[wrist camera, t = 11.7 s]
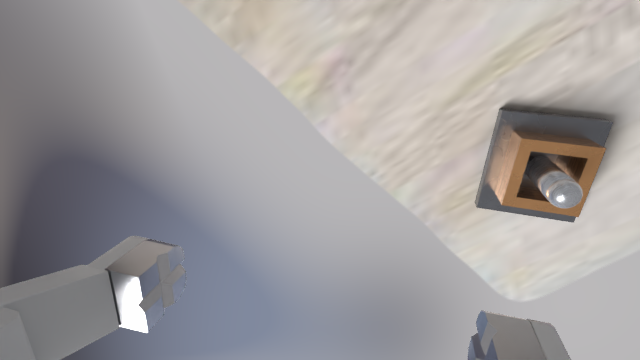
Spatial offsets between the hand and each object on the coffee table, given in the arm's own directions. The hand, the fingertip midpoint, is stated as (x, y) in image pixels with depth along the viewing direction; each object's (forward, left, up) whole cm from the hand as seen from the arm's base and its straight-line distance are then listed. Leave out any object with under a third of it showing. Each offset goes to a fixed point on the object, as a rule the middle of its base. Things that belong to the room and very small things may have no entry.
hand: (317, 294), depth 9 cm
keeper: (+4, +15, -29) cm, 33 cm away
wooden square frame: (+4, +15, -28) cm, 32 cm away
